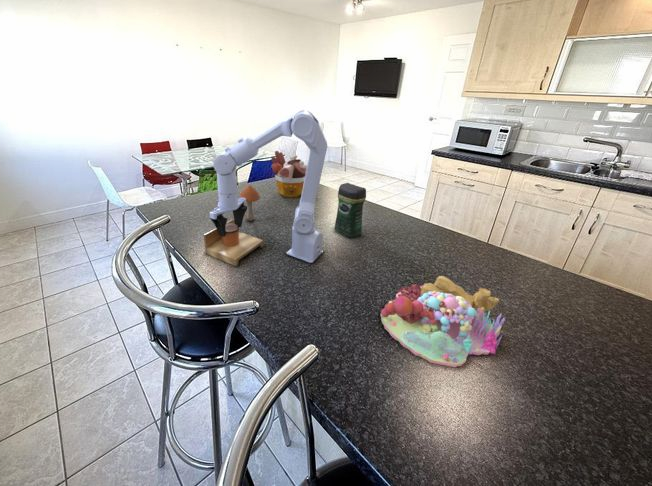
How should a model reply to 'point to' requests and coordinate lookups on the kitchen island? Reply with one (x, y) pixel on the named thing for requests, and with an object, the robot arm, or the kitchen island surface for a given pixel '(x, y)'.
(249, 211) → the mushroom
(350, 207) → the coffee jar
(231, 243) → the pot
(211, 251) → the shelf
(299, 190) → the bucket of meat
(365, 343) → the kitchen island surface
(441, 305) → the candy landscape model
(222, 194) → the robot arm
